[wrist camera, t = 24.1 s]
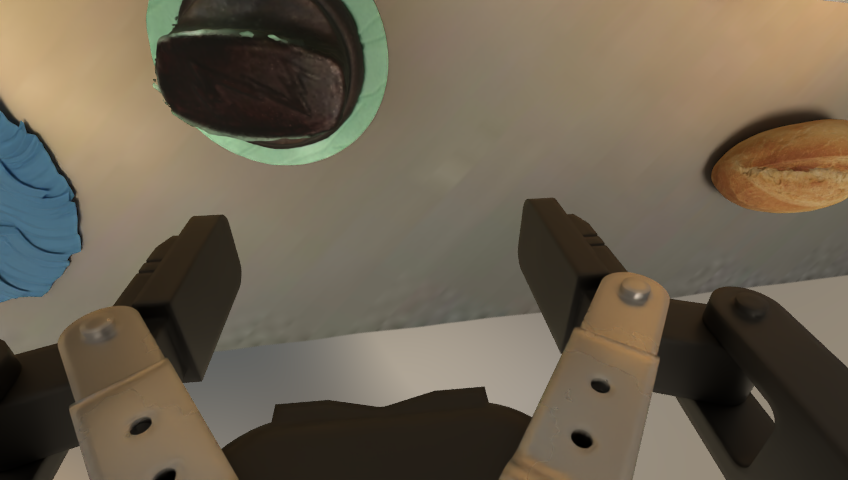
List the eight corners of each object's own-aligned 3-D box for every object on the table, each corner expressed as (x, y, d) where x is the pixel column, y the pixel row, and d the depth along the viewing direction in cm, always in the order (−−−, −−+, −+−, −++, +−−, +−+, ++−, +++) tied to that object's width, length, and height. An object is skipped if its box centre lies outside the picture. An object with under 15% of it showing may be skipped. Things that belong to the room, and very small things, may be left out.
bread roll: (711, 123, 46) (768, 152, 40) (853, 96, 46) (934, 120, 40) (695, 203, 52) (743, 240, 45) (823, 179, 52) (890, 213, 45)
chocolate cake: (193, 186, 44) (82, -57, 33) (360, 129, 51) (312, -82, 41) (229, 243, 33) (78, -96, 22) (435, 160, 40) (396, -120, 30)
